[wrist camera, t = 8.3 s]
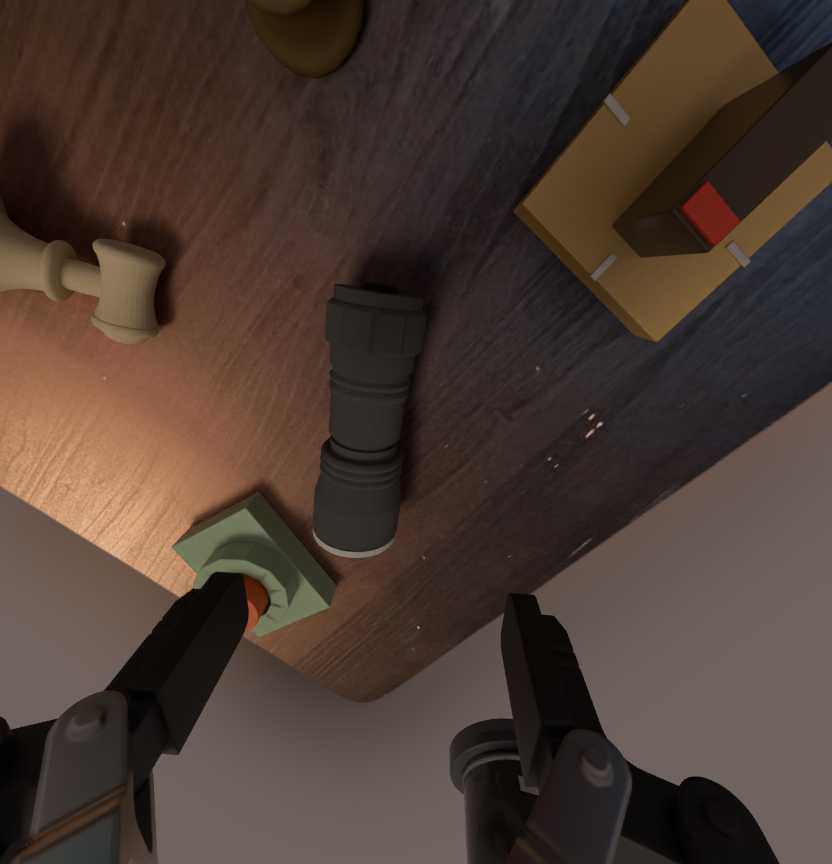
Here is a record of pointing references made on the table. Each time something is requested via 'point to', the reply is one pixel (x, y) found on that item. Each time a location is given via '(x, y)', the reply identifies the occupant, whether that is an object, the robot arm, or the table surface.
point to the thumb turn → (734, 162)
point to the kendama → (308, 32)
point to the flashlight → (365, 416)
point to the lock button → (255, 600)
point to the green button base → (259, 560)
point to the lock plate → (647, 157)
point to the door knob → (86, 278)
